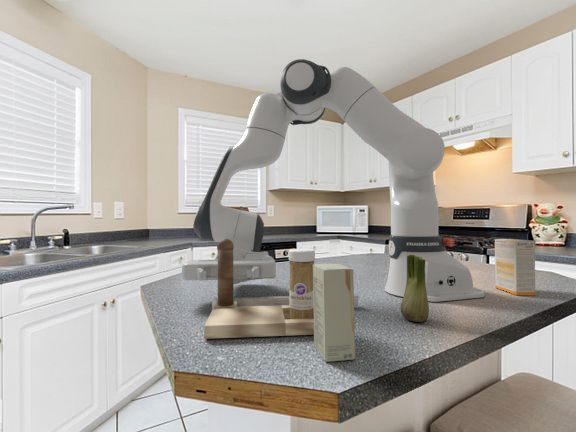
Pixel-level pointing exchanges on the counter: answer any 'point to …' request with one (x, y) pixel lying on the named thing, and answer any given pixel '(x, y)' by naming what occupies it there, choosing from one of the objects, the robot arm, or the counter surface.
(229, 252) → the wooden peg stand
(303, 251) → the sprinkles bottle
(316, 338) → the skincare box
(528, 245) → the supplement box
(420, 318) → the fennel bulb
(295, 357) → the counter surface
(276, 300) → the rail
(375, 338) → the counter surface
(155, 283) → the counter surface
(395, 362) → the counter surface
